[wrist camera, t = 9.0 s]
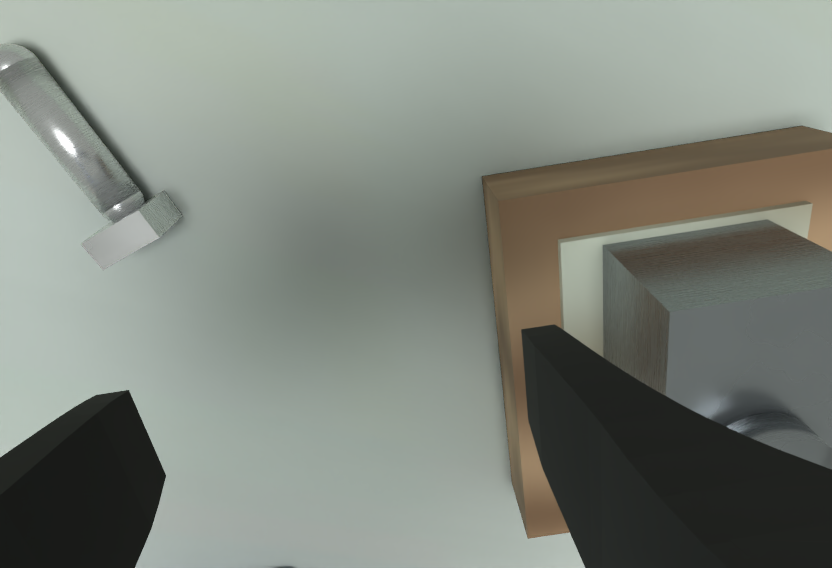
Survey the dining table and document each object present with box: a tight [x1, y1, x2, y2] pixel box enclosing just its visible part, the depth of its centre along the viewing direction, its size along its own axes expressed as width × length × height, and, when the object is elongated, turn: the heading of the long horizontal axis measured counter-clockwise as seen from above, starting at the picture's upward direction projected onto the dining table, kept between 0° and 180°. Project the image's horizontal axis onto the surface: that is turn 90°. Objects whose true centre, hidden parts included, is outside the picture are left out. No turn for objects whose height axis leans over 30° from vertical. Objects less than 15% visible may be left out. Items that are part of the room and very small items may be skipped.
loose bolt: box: [0, 44, 183, 270], centre depth 17 cm, size 7×2×2 cm, turn 28°
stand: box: [482, 126, 832, 538], centre depth 21 cm, size 14×11×3 cm
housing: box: [603, 219, 832, 469], centre depth 17 cm, size 10×5×5 cm, turn 8°
